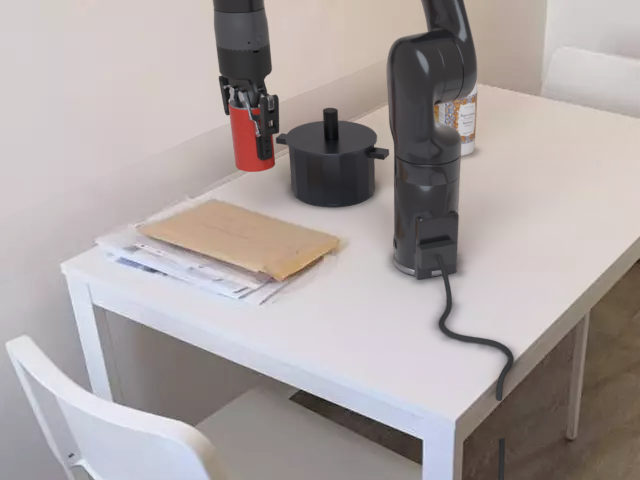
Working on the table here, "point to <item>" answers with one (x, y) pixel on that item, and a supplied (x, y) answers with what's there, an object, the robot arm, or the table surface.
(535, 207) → the table surface
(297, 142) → the pot lid
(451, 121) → the bath foam
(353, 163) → the pot
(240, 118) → the tomato can
